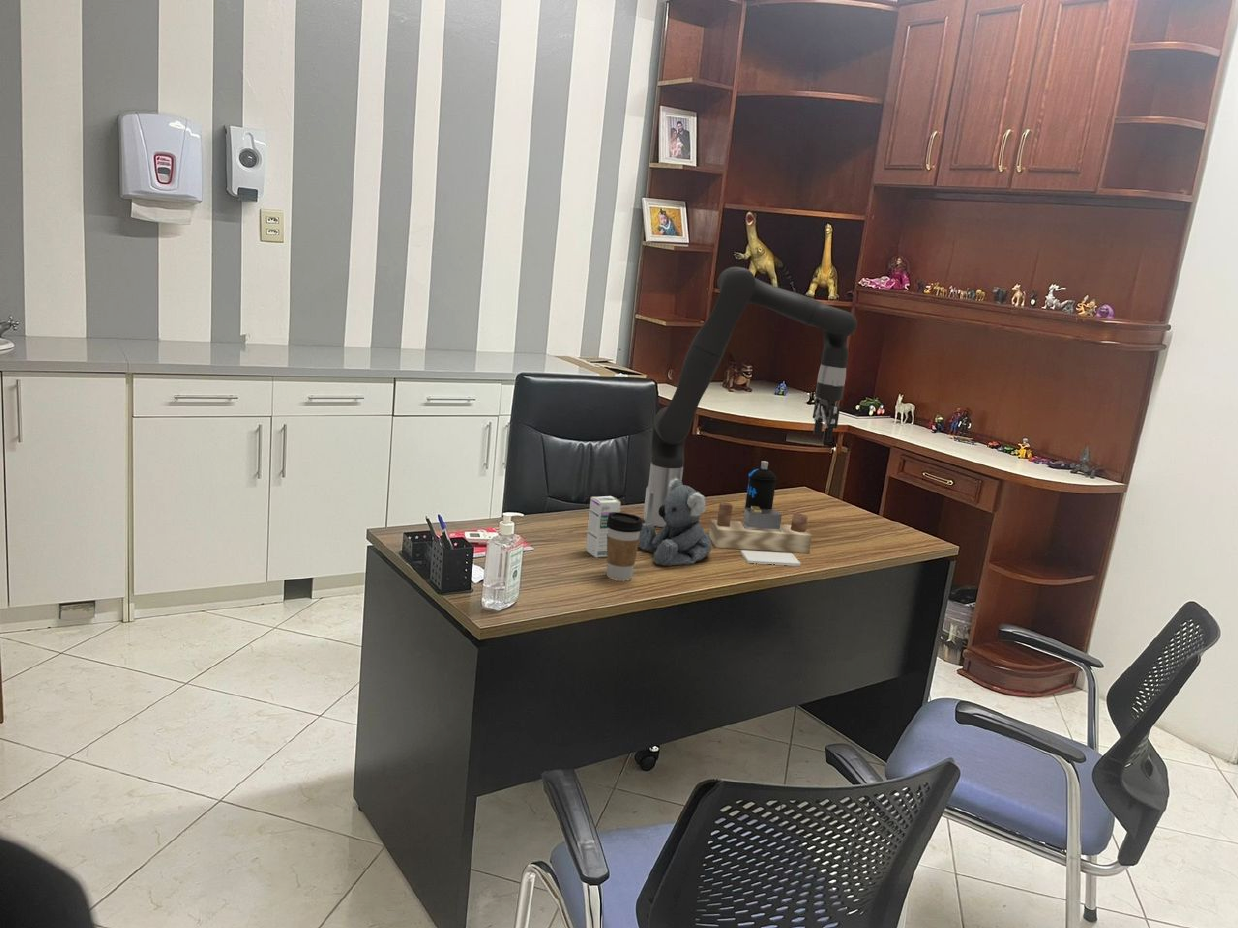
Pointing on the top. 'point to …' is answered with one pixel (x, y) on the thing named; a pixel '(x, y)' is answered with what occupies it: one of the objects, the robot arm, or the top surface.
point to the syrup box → (600, 524)
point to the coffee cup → (622, 544)
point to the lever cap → (762, 518)
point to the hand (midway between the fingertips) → (821, 438)
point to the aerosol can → (761, 487)
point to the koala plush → (678, 528)
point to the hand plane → (759, 534)
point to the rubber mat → (770, 558)
